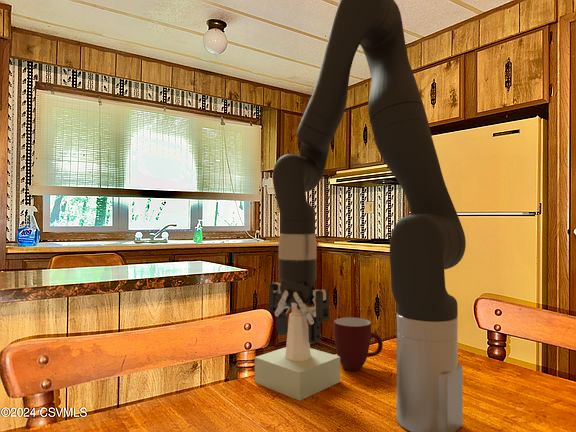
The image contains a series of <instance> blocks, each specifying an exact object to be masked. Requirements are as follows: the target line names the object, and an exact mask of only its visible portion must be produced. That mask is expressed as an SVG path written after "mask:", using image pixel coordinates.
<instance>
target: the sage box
mask: <svg viewBox="0 0 576 432" xmlns="http://www.w3.org/2000/svg"><path fill="white" fill-rule="evenodd" d="M310 353H311V358H310V359H308V360H305V361H291V360H288V359H286V358H285V354H286V346H285V347H282V348H279V349H276V350H273V351H271V352H270V351H269V352H267V353H264V354H260V355H257V356H254V383H255V384H258V385H260V386H263V387H265V388H267V389H270V390H272V391H275V392H278V393H279V394H282V395H284V396H287V397H289V398H291V399H294V400H297V401H300V402H301V401H302V400H304V399H306V398H309V397H312V396H313V395H316V394H317V393H319V392H321V391H324V390H325V389H327V388H330V387H332V386H334V385H337V384H338V383H340V382H341V363H340V356H337V354H332V353H329V352H326V351H322V350H319V349H315V348H311V347H310Z"/></svg>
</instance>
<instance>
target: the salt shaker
mask: <svg viewBox="0 0 576 432" xmlns="http://www.w3.org/2000/svg"><path fill="white" fill-rule="evenodd" d="M291 305H292V308H291V312H290V313H289V316H288V332H287V334H286V335H287V336H286V343H285V344H286V346H285V347H286V354H285V358H286V359H288V360H291V361H305V360H308V359H310V358H311V353H310V348H311V343H309V324H308V323H309V321H308V319H307V317H306V315H304V314H303V313H302V311H301V309H298V308H297V303H294V302H292V303H291Z"/></svg>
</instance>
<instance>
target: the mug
mask: <svg viewBox="0 0 576 432" xmlns="http://www.w3.org/2000/svg"><path fill="white" fill-rule="evenodd" d="M333 339H334V344H335V352H336V355H337V356H340V365H341V366H342V368H343V369H345V370H346V371H350V372H351V371H352V372H356V371H357V370H358V371H360V370H361V369H363V367H364V365H365V363H366V361H367V360H368V358H371V357H375V356H377V355H378V356H379V354H381V352H382V350H383V344H384V343H383V340H382V337H381V336H380V335H379V334H378V333H376V332H372V322H371V320H368V319H366V318H362V317H355V316H354V317H351V316H349V317H348V316H347V317H339V318H336V319H334V320H333ZM372 339H375V340H376V342H377V345H378V346H377V348H376V350H375V351H372V352H369V349H370V344H371V340H372ZM358 371H357V372H358Z"/></svg>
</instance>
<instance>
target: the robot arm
mask: <svg viewBox="0 0 576 432" xmlns="http://www.w3.org/2000/svg"><path fill="white" fill-rule="evenodd" d="M359 46H360V48H361V49H362V51H363V54H364V55H365V59H366V62H367V65H368V69H369V72H370V73H369V74H370V81H371V83H370V90H369V91H370V92H369V97H368V107H367V109H368V111H367V112H368V118H369V123H370V127H371V131H372V135H373V138H374V142H375V146H376V148H377V150H378V153H379V154H380V156H381V158H382V160H383V162H384V163H385V165H386V166H387V168H388V169H389V170H390V172H391V173H392V175H393V176H394V178H395V179H396V181H397V182H398V183H399V185H400V186H401V188H402V191H403V193H404V195H405V198H406V201H407V204H408V208H409V213H410V214H409V215H406V216H403V217H402V218H401V219H399V220H398V221H397V223H395V225H394V227H393V229H392V231H391V235H390V240H389V241H390V242H389V268H390V269H389V270H390V287H391V293H392V297H393V299H394V301H395V303H396V421H397V424H398V425H400V426H401V427H402V428H404V429H405V430H407V431H409V432H457V431H458V430H459V429H460V428H462V427H463V423H464V421H463V419H464V417H463V416H464V415H463V411H464V410H463V407H464V406H463V405H464V404H463V401H464V399H463V396H464V394H463V392H464V391H463V390H464V389H463V388H464V387H463V383H464V381H463V379H464V378H463V372H464V371H463V365H462V364H460V363H458V360H459V359H458V315H459V314H458V313H459V311H458V308H459V307H458V301H457V299H456V298H455V296H452V295H451V294H449V293H448V291H447V287H446V278H445V277H446V274H445V270H449V269H452V268H454V267H455V266H456V265H458V264H459V263H460V262H461V261H462V259H463V258H464V255H465V252H466V245H467V243H466V242H467V241H466V235H465V231H464V229H463V225H462V222H461V220H460V217H459V215H458V213H457V209H456V208H455V206H454V203H453V200H452V198H451V194H450V193H449V191H448V187H447V185H446V181H445V179H444V175H443V173H442V168H441V165H440V161H439V157H438V154H437V150H436V147H435V144H434V140H433V136H432V133H431V128H430V123H429V119H428V116H427V113H426V109H425V105H424V102H423V99H422V96H421V94H420V89H419V87H418V83H417V81H416V77H415V75H414V72H413V71H414V70H413V69H412V66H411V64H410V60H409V56H408V51H407V45H406V40H405V32H404V24H403V20H402V14H401V11H400V8H399V5H398V4H397V2H396V1H395V0H339V2H338V4H337V7H336V11H335V14H334V16H333V20H332V24H331V28H330V33H329V36H328V39H327V44H326V46H325V51H324V55H323V57H322V62H321V65H320V70H319V72H318V76H317V80H316V82H315V86H314V88H313V91H312V94H311V96H310V98H309V102H308V104H307V105H306V108H305V110H304V112H303V114H302V118H301V120H300V122H299V124H298V127H297V130H296V138H297V139H298V141H299V142H300V148H299V152H298V155H297V154H293V153H287V154H284V155H282V156H280V157H279V158H278V159H277V161H276V162H275V164H274V166H273V171H272V184H273V189H274V193H275V198H276V199H275V200H276V203H277V207H278V211H279V240H278V279H279V280H280V281H281V282H280V281H276V282H272V283H269V287H268V289H269V290H268V311H269V312H270V313H273V314H274V316H275V317H276V332H277V335H278V336H284V335H287V333H288V322H289V316H288V315H287V313H288V312H289V311H290V309H292V305H291V303H292V302H294V303H297V308H298V309H301V311H302V313H303V314H304V315H306V317H307V322H308V323H309V324H308V333H309V343H310V345H311V344H313V345H314V344H317V343H319V341H320V340H321V324H322V323H324V322H327V321H329V320H330V299H329V297H330V296H329V295H330V293H329V289H327V288H323V289H316V286H315V282H316V280H317V239H316V212H315V208H314V207H313V205H311V204H310V203H309V202H308V201H307V195H306V192H310V191H312V190H314V189H315V188H316V187H318V185H319V183H320V182H321V180H322V177H323V175H324V172H325V171H326V170H325V169H326V166H327V165H326V164H327V160H328V156H329V150H330V145H331V142H332V141H333V139H334V137H335V134H336V132H337V130H338V128H339V127H340V123H341V122H342V119H343V117H344V114H345V110H346V107H347V101H348V93H349V92H348V91H349V90H348V89H349V82H350V75H351V69H352V67H353V66H352V65H353V62H354V58H355V55H356V53H357V51H358V48H359ZM309 306H310V307H309Z"/></svg>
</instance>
